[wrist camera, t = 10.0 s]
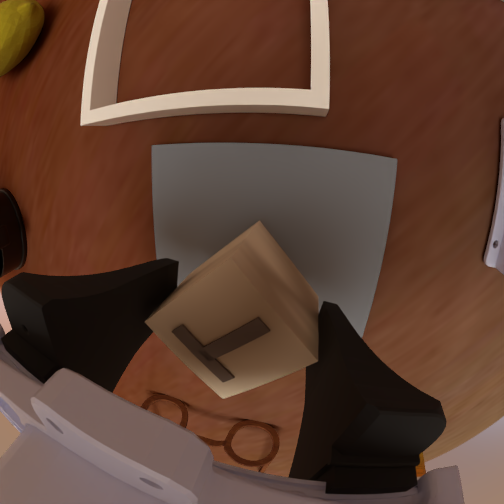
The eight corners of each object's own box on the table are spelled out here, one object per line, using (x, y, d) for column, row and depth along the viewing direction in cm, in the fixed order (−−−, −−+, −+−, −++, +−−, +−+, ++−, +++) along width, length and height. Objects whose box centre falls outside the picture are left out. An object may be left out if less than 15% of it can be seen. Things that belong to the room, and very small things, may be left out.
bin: (325, 116, 12) (329, 108, 10) (106, 125, 15) (80, 125, 12) (319, -57, 7) (318, -78, 5) (131, -28, 10) (113, -39, 7)
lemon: (68, -11, 10) (10, -29, 3) (57, 47, 13) (-15, 38, 6) (11, 40, 13) (-39, 38, 5) (3, 95, 15) (-52, 100, 8)
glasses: (284, 422, 21) (275, 467, 17) (263, 470, 26) (255, 501, 22) (152, 385, 23) (128, 421, 19) (166, 442, 28) (151, 469, 24)
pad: (351, 359, 17) (351, 366, 16) (171, 331, 19) (167, 337, 18) (393, 158, 12) (397, 159, 11) (159, 145, 14) (151, 145, 14)
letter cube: (318, 296, 13) (318, 363, 8) (246, 336, 14) (222, 400, 10) (259, 220, 12) (229, 259, 8) (190, 272, 14) (143, 323, 9)
